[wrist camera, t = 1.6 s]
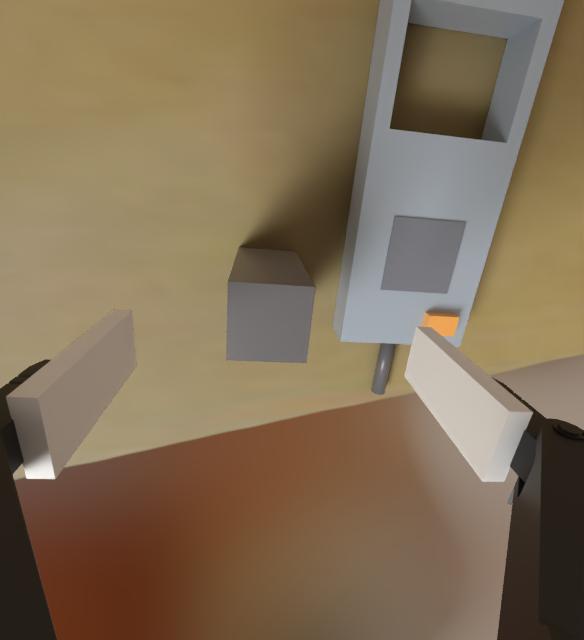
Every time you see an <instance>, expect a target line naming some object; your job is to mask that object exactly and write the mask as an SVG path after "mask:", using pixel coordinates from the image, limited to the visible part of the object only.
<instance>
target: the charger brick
mask: <svg viewBox="0 0 584 640" xmlns="http://www.w3.org/2000/svg"><path fill="white" fill-rule="evenodd" d="M314 295H315V285H314V283H313V282H312V280H311V278H310V276H309V274H308V273H307V271H306V269H305V267H304V265H303V263H302V262H301V260H300V258H299V256H298V254H297V253H296V251H285V250H272V249H259V248H245V247H239V249H238V252H237V255H236V258H235V261H234V264H233V268H232V271H231V274H230V277H229V280H228V303H227V352H226V360H234V361H263V362H291V363H306V362H307V354H308V346H309V337H310V329H311V321H312V312H313V304H314Z"/></svg>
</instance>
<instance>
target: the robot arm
mask: <svg viewBox="0 0 584 640" xmlns="http://www.w3.org/2000/svg"><path fill="white" fill-rule="evenodd" d="M136 366H137V361H136V350H135V338H134V327H133V315H132V310H115V309H114V310H113V311H111V312H110V313H109V314H108V315H106V316H105V317H104V318H103V319H101V320H100V321H99V322H98V323H97V324H95V325H94V326H93V327H92V328H90V329H89V330H88V331H87V332H85V333H84V334H83V335H82V336H80V337H79V338H78V339H77V340H75V341H74V342H73V343H72V344H71V345H69V346H68V347H67V348H66V349H64V350H63V351H62V352H61V353H59V354H58V355H57V356H56V357H54V358H53V359H52V360H43V361H41V362H39V363H36V364H34V365H32V366H30V367H28V368H27V369H26V370H24V371H23V372H22V373H20V374H19V375H18V377H15V378H14V379H12V380H11V381H10V382H9V384H6V385H5V386H3V387H2V388H1V389H0V640H57V637H56V633H55V630H54V626H53V623H52V619H51V615H50V611H49V608H48V604H47V600H46V597H45V593H44V589H43V585H42V582H41V579H40V575H39V571H38V567H37V563H36V560H35V556H34V552H33V549H32V545H31V541H30V538H29V534H28V531H27V526H26V523H25V519H24V515H23V512H22V508H21V504H20V501H19V497H18V493H17V490H16V486H15V482H14V479H13V475H12V474H13V473H14V472H15V471H16V470H17V469H18V467H19V466H20V465H21V464H22V463H23V466H24V470H25V474H26V478H27V479H56V477H57V476H58V475H59V473H60V472H61V470H62V469H63V468H64V466H65V465H66V463H67V462H68V461H69V459H70V458H71V456H72V455H73V454H74V452H75V451H76V450H77V448H78V447H79V445H80V444H81V443H82V441H83V440H84V438H85V437H86V436H87V434H88V433H89V431H90V430H91V429H92V427H93V426H94V424H95V423H96V422H97V420H98V419H99V418H100V416H101V415H102V413H103V412H104V411H105V409H106V408H107V406H108V405H109V404H110V402H111V401H112V399H113V398H114V397H115V395H116V394H117V392H118V391H119V390H120V388H121V387H122V386H123V384H124V383H125V381H126V380H127V379H128V377H129V376H130V374H131V373H132V372H133V370H134V369H135V367H136ZM404 376H405V378H406V379H407V380H408V382H409V383H410V385H411V386H412V387H413V389H414V390H415V391H416V393H417V394H418V395H419V397H420V398H421V399H422V401H423V402H424V403H425V404H426V406H427V407H428V409H429V410H430V412H431V413H432V414H433V416H434V417H435V418H436V419H437V421H438V422H439V424H440V425H441V426H442V428H443V429H444V430H445V432H446V433H447V434H448V436H449V437H450V438H451V440H452V441H453V442H454V444H455V445H456V446H457V448H458V449H459V451H460V452H461V453H462V455H463V456H464V457H465V459H466V460H467V461H468V463H469V464H470V465H471V467H472V468H473V469H474V471H475V472H476V474H477V475H478V476H479V478H480V479H481V480H482V481H483V482H504V481H505V479H506V476H507V474H508V471H509V469H510V467H511V468H512V469H513V470H514V471H515V472H516V473H517V474H518V476H519V477H518V479H517V482H516V484H515V486H514V489H513V491H512V493H511V495H510V497H509V500H508V502H507V503H508V504H510V505H511V504H512V503H513V505H512V514H511V522H510V531H509V540H508V550H507V558H506V567H505V576H504V584H503V593H502V601H501V611H500V619H499V628H498V637H497V640H584V430H582V429H580V428H579V427H577V426H575V425H572V424H570V423H568V422H565V421H561V420H558V419H546V418H545V417H544V416H542V415H541V414H540V413H539V412H538V411H536V410H535V409H534V408H533V407H532V406H530V405H529V404H528V403H527V402H525V401H524V400H522V399H521V397H519V396H518V395H517V394H516V393H513V391H512V390H511V389H510V388H508V387H507V386H506V385H505V384H503V383H501V382H500V381H498V380H496V379H494V378H492V377H490V376H489V375H488V374H487V373H486V372H484V371H483V370H482V369H481V368H480V367H478V366H477V365H476V364H475V363H474V362H472V361H471V360H470V359H469V358H468V357H466V356H465V355H464V354H463V353H462V352H460V351H459V350H458V349H457V348H456V347H454V346H453V345H452V344H451V343H450V342H448V341H447V340H446V339H445V338H444V337H443V336H441V335H440V334H439V333H438V332H437V331H435V330H434V329H433V328H432V327H419V326H416V330H415V334H414V338H413V342H412V346H411V350H410V354H409V359H408V363H407V367H406V371H405V375H404Z"/></svg>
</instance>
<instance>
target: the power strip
mask: <svg viewBox="0 0 584 640" xmlns="http://www.w3.org/2000/svg"><path fill="white" fill-rule="evenodd" d="M563 3H564V0H380V3H379V10H378V17H377V24H376V31H375V38H374V45H373V52H372V59H371V65H370V72H369V79H368V86H367V93H366V100H365V107H364V114H363V121H362V128H361V135H360V141H359V148H358V155H357V162H356V169H355V176H354V183H353V190H352V197H351V204H350V210H349V217H348V224H347V231H346V238H345V245H344V252H343V259H342V266H341V273H340V280H339V286H338V293H337V300H336V307H335V314H334V321H333V328H334V330H335V332H336V334H337V336H338V338H339V340H340V341H343V342H366V343H381V345H380V350H379V355H378V360H377V365H376V370H375V375H374V380H373V384H372V389H371V390H372V392H373V393H375V394H379V395H382V394H384V393H385V388H386V384H387V379H388V375H389V370H390V366H391V361H392V357H393V352H394V348H395V344H412V342H413V338H414V334H415V330H416V326H419V327H432V328H433V329H434V330H435V331H437V332H438V333H439V334H440V335H441V336H443V337H444V338H445V339H446V340H447V341H448V342H450V343H451V344H452V345H453V346H458V347H460V345H461V341H462V338H463V335H464V331H465V328H466V325H467V321H468V318H469V315H470V311H471V308H472V305H473V302H474V298H475V295H476V292H477V288H478V285H479V282H480V278H481V275H482V272H483V268H484V265H485V262H486V258H487V255H488V252H489V248H490V245H491V242H492V239H493V235H494V232H495V229H496V225H497V222H498V219H499V215H500V212H501V209H502V205H503V202H504V199H505V195H506V192H507V189H508V185H509V182H510V179H511V175H512V172H513V169H514V166H515V162H516V159H517V156H518V152H519V149H520V146H521V142H522V139H523V136H524V132H525V129H526V126H527V122H528V119H529V116H530V112H531V109H532V106H533V103H534V99H535V96H536V93H537V89H538V86H539V83H540V79H541V76H542V73H543V69H544V66H545V63H546V59H547V56H548V53H549V49H550V46H551V43H552V39H553V36H554V33H555V30H556V26H557V23H558V20H559V16H560V13H561V10H562V6H563ZM408 23H411V24H417V25H424V26H430V27H436V28H442V29H449V30H455V31H461V32H467V33H473V34H480V35H486V36H492V37H498V38H505V39H507V43H506V47H505V50H504V54H503V58H502V62H501V66H500V70H499V73H498V77H497V81H496V85H495V89H494V93H493V96H492V100H491V104H490V108H489V112H488V115H487V119H486V123H485V127H484V131H483V135H482V138H481V140H478V139H469V138H461V137H453V136H445V135H436V134H428V133H420V132H412V131H403V130H395V129H390V123H391V117H392V111H393V105H394V99H395V94H396V88H397V82H398V76H399V70H400V65H401V59H402V53H403V47H404V41H405V35H406V30H407V24H408Z"/></svg>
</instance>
